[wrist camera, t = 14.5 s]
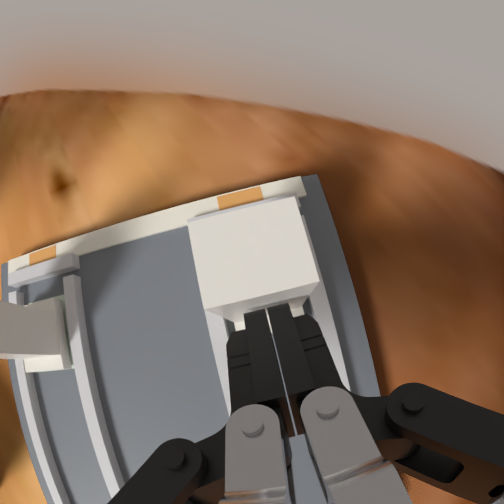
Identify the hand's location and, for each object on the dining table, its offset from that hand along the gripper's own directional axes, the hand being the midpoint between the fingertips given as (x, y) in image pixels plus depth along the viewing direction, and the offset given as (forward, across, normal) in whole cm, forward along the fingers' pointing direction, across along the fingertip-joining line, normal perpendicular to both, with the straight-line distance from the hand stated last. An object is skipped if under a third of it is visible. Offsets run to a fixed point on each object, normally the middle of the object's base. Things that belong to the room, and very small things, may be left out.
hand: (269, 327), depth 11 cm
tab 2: (+5, 0, +2) cm, 5 cm away
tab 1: (+5, +13, +2) cm, 14 cm away
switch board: (+3, +6, +7) cm, 10 cm away
